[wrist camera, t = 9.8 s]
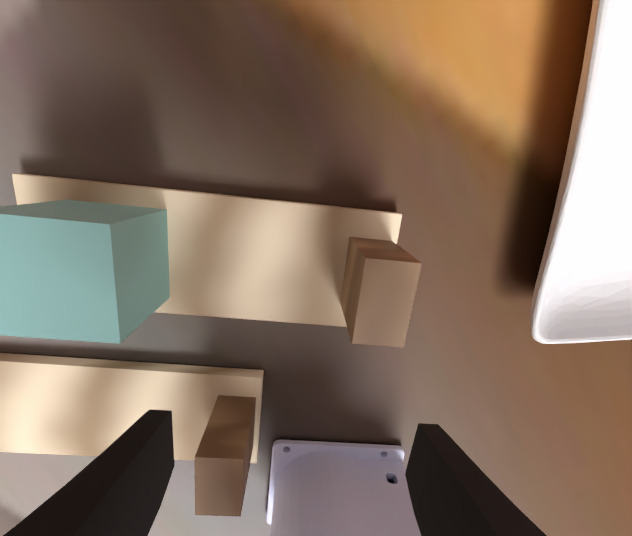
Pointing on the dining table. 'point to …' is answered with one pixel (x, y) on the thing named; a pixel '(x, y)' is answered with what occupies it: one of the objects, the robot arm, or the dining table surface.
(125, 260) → the teal block
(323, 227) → the strip
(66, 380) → the empty strip
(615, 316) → the salad plate
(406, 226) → the dining table surface
